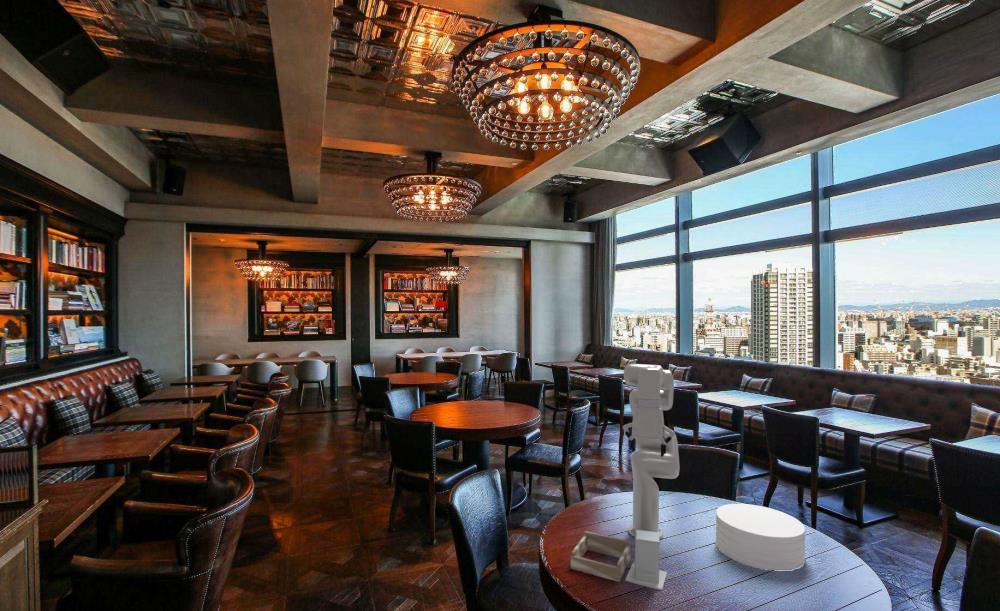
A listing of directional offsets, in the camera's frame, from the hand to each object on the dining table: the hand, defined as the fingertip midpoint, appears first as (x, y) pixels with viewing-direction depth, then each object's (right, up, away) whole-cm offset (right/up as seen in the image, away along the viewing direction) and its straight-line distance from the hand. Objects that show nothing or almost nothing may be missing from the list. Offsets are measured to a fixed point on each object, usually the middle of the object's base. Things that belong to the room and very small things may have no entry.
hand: (647, 453), depth 164 cm
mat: (-4, -36, -11) cm, 38 cm away
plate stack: (+42, -38, +7) cm, 57 cm away
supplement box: (-4, -36, -11) cm, 38 cm away
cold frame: (-17, -36, -3) cm, 40 cm away
